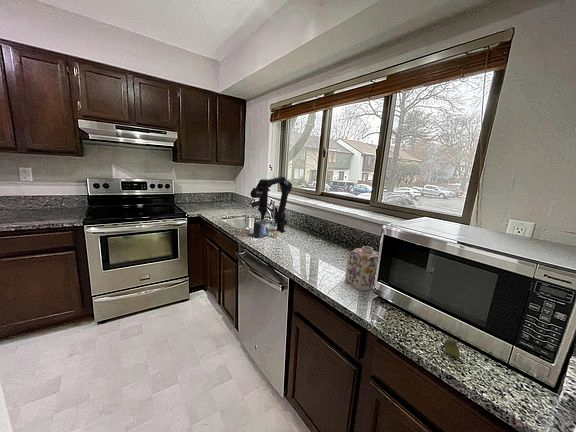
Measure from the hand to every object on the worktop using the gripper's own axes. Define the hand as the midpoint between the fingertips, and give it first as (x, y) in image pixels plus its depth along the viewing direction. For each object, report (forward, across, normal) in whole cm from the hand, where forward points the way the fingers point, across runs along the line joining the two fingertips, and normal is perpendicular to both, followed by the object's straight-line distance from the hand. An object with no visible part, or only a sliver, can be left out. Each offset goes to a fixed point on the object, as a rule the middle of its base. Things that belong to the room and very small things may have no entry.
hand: (262, 219), depth 175 cm
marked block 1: (+13, 0, -11) cm, 17 cm away
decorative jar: (+13, +71, +47) cm, 86 cm away
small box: (+13, 0, 0) cm, 13 cm away
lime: (+13, +114, +57) cm, 129 cm away
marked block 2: (+13, 0, +11) cm, 17 cm away
